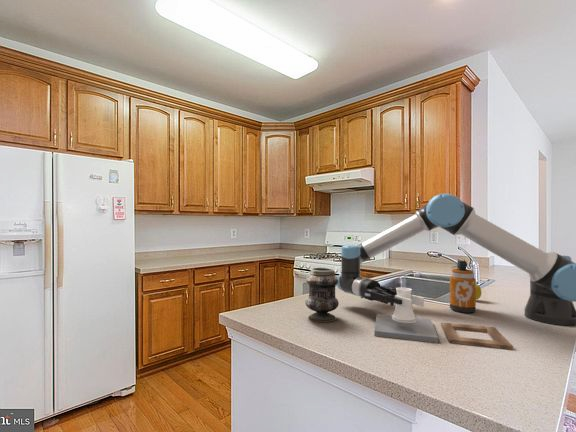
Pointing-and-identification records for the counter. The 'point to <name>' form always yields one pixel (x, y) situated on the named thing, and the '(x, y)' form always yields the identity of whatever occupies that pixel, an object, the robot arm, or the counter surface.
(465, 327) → the holder frame
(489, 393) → the counter surface
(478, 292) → the lemon
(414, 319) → the vase
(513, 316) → the counter surface
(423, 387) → the counter surface
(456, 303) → the canister
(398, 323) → the slate board
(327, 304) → the apothecary jar
